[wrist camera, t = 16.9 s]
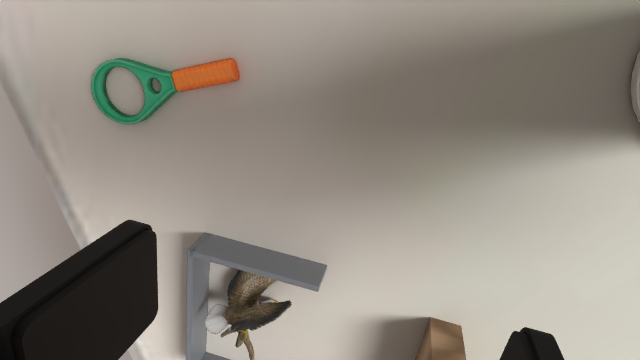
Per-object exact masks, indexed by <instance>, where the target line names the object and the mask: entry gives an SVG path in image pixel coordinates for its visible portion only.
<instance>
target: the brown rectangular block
mask: <svg viewBox="0 0 640 360" xmlns="http://www.w3.org/2000/svg"><path fill="white" fill-rule="evenodd" d="M416 360H466V355H465V348H464V342H463V335H462V328H461V326H460V325H456V324H453V323H449V322H446V321H442V320H438V319H435V318H431V317H430V319H429V322H428V325H427V328H426V331H425V334H424V336H423V339H422V342H421V345H420V348H419V351H418V354H417V357H416Z"/></svg>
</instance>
